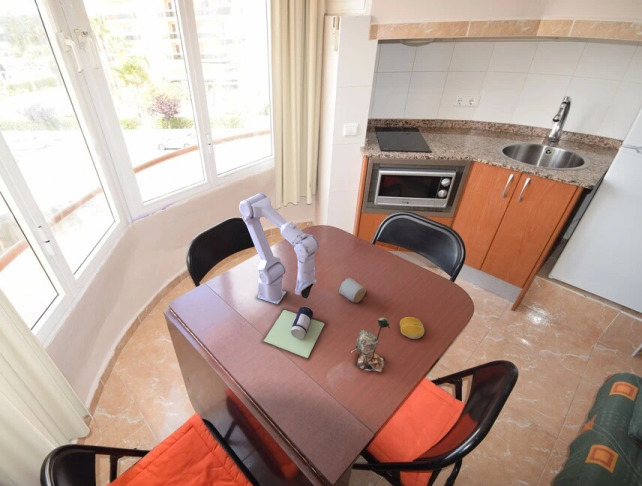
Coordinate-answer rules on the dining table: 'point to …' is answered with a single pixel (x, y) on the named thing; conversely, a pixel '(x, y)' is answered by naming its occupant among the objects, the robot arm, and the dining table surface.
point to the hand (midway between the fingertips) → (305, 296)
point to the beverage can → (301, 322)
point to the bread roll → (411, 327)
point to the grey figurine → (370, 348)
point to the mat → (286, 340)
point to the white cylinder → (352, 290)
